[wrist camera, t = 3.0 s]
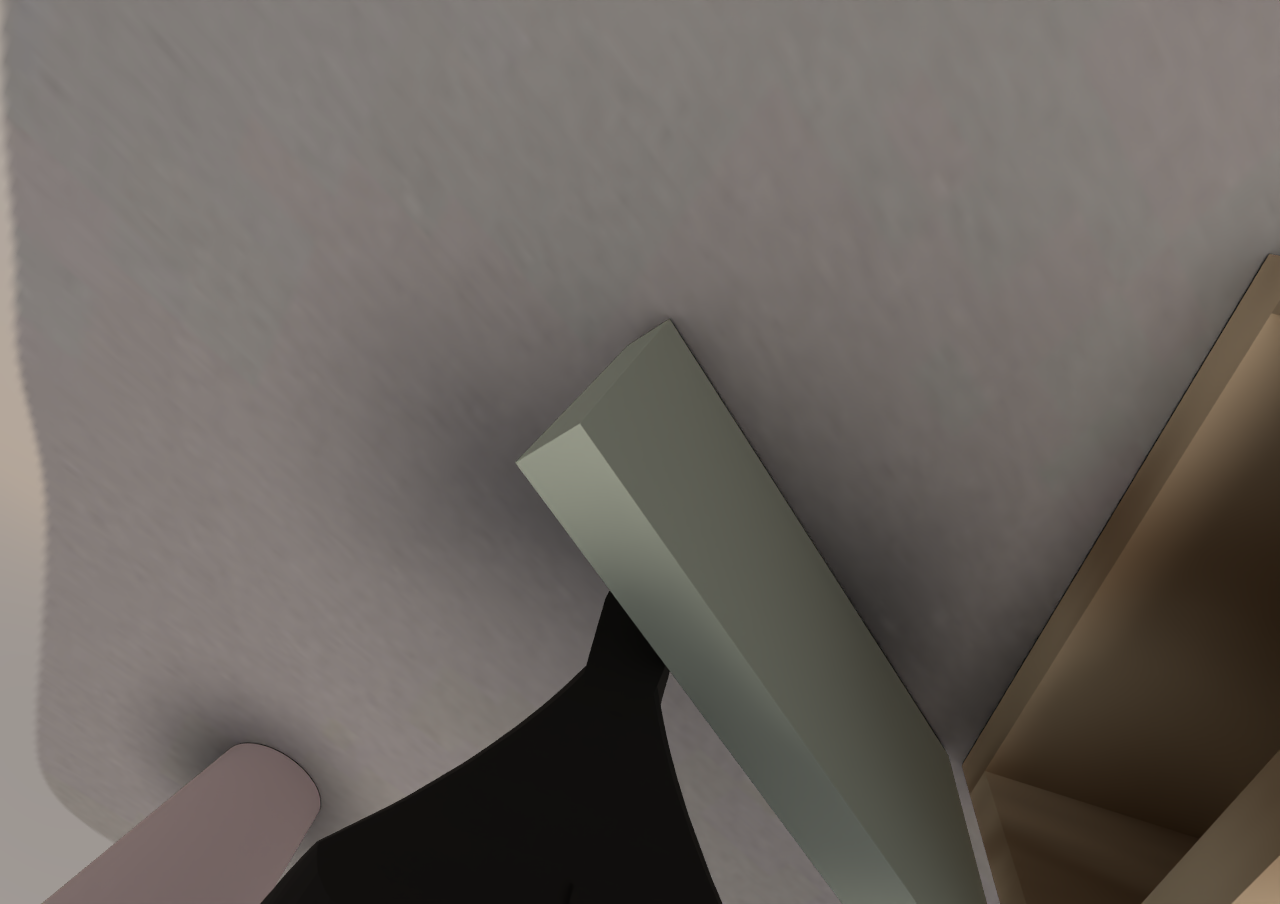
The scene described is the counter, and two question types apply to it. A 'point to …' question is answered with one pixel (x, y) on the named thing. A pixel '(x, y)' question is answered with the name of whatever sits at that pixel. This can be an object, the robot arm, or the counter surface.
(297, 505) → the counter surface
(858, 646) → the door
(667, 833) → the robot arm
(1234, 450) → the wooden box
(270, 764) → the smoothie
